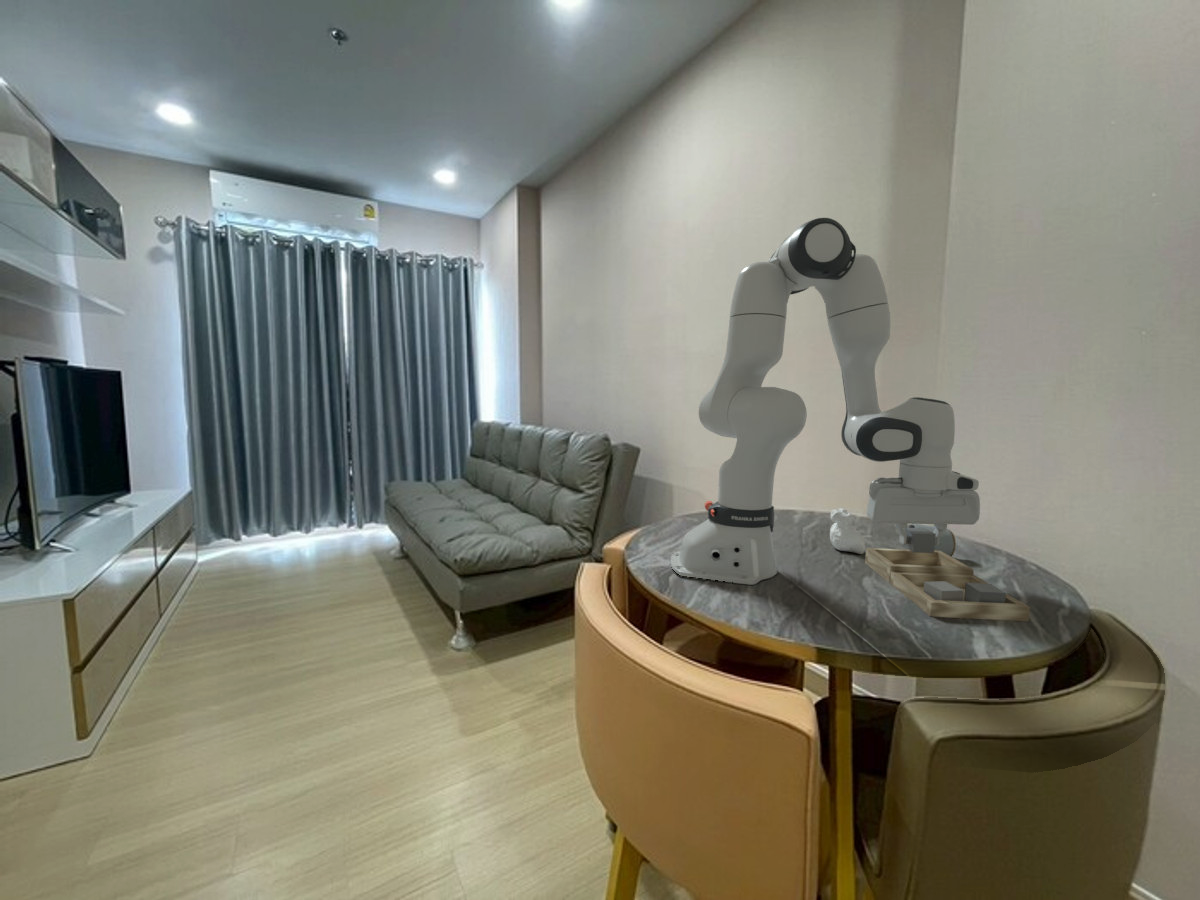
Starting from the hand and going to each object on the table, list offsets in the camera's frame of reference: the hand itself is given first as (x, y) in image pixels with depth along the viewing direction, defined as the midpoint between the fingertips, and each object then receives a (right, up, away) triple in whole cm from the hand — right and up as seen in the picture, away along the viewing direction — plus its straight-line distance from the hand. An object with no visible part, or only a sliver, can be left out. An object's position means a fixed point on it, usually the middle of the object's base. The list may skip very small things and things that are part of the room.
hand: (919, 543), depth 100 cm
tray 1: (0, -7, +1) cm, 7 cm away
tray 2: (-2, -9, -12) cm, 15 cm away
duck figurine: (-7, -5, +18) cm, 20 cm away
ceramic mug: (+10, -6, +14) cm, 18 cm away
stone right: (+1, -8, -16) cm, 18 cm away
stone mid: (0, -1, 0) cm, 1 cm away
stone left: (-6, -8, -15) cm, 18 cm away
